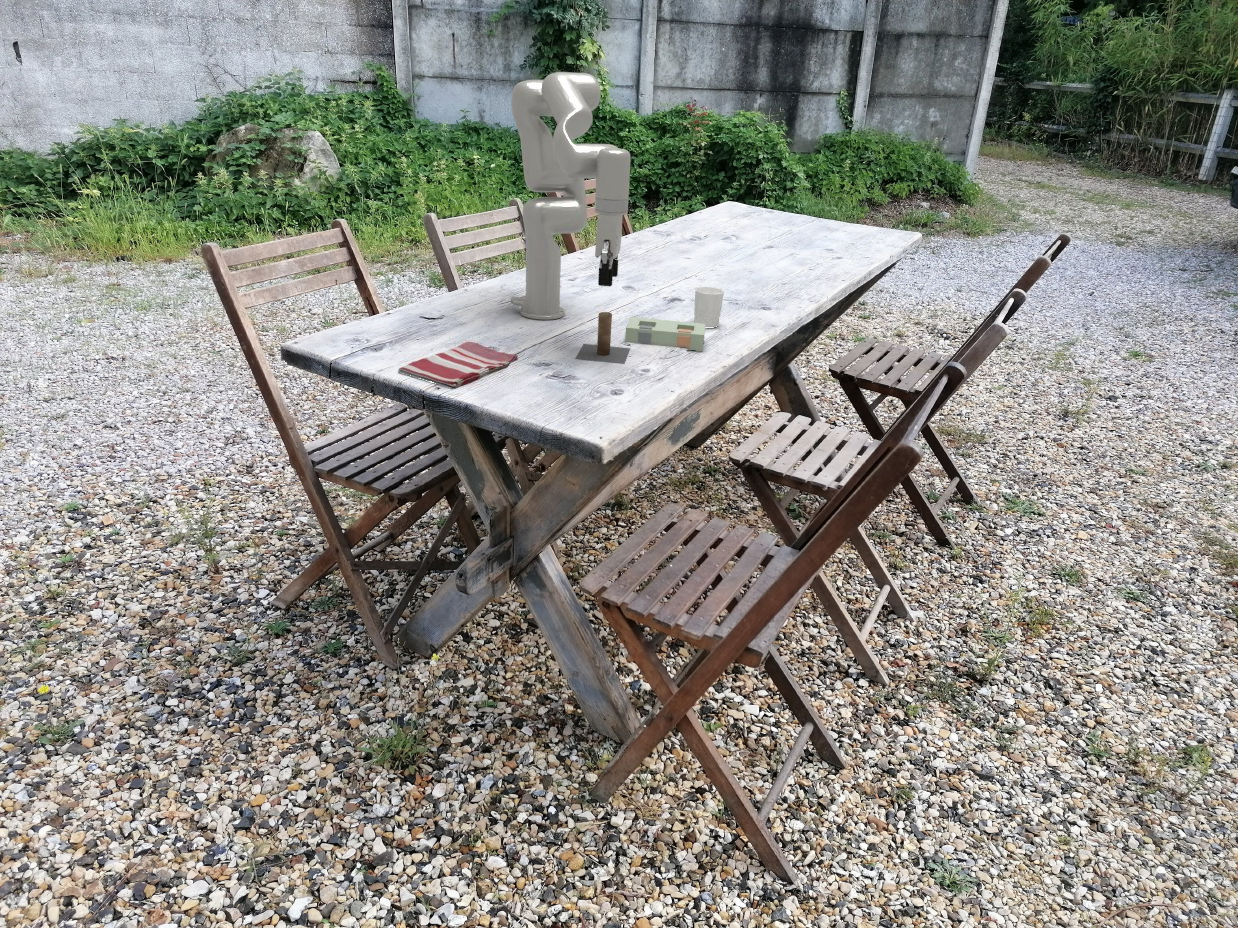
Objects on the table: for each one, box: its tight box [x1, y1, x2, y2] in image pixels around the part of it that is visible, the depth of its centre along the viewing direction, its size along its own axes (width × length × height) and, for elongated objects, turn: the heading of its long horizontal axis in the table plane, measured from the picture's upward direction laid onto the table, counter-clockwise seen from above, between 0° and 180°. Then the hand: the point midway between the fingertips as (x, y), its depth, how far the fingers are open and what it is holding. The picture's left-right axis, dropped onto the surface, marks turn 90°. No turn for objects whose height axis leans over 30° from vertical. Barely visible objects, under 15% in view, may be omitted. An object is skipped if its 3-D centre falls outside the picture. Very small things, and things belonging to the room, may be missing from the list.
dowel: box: [596, 311, 613, 356], centre depth 203 cm, size 3×3×10 cm
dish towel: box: [397, 341, 519, 390], centre depth 193 cm, size 17×23×3 cm
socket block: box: [624, 316, 706, 352], centre depth 218 cm, size 20×10×5 cm, turn 82°
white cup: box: [693, 286, 725, 327], centre depth 233 cm, size 8×8×10 cm
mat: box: [574, 343, 631, 365], centre depth 206 cm, size 12×12×1 cm
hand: (608, 281), depth 198 cm, fingers open, 9 cm apart
